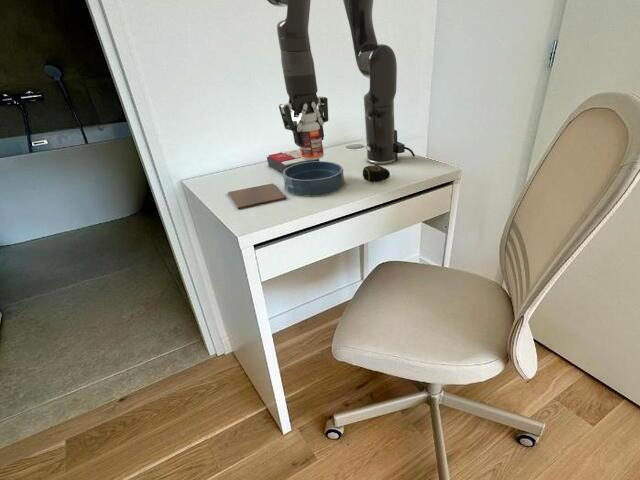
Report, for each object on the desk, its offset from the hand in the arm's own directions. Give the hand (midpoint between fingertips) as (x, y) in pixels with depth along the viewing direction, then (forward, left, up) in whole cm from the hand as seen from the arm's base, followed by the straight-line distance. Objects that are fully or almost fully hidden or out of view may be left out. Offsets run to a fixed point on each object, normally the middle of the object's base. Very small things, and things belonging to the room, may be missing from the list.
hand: (310, 142), depth 103 cm
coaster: (+16, -1, -12) cm, 20 cm away
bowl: (0, 0, -12) cm, 12 cm away
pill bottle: (0, 0, -4) cm, 4 cm away
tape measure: (-17, +5, -12) cm, 21 cm away
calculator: (0, -18, -12) cm, 22 cm away
